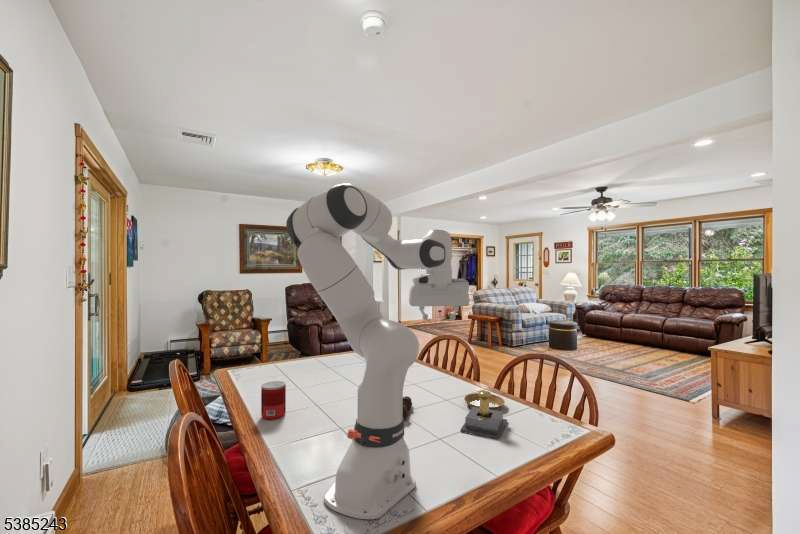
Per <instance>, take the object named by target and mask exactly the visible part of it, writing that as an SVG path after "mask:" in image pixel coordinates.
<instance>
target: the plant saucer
mask: <svg viewBox="0 0 800 534" xmlns="http://www.w3.org/2000/svg"><path fill="white" fill-rule="evenodd" d="M463 399H464V401H465V403H466V405H468V406H469V408H471V409H472V407H478V408H480V406H475V405H472V404H470V402H472V401H475V400H477V401H479V400H480V397H479V396H478V392H476V393H475V392H474V393H473V392H472V393H469V394H467V395H465V396H464V398H463ZM489 403H492V404H494V405H495V404H497V405H499V406H498V407H489V409H491V410H497V411H499V410H500V409H501V408H502V407H503V406H504V405H505V403H506V402H505V400H504V398H502V397H500V395H495V394H493V393H491V397H490V398H489Z"/></svg>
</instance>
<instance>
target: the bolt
mask: <svg viewBox="0 0 800 534" xmlns="http://www.w3.org/2000/svg"><path fill="white" fill-rule="evenodd" d="M412 406H413V402H412V398H411V397H409V396H407V395H406V396H403V408H402V417H403V418H404V422H406V420H407V419H408V416H409V415H410V411H409V410H410V409H411V407H412Z"/></svg>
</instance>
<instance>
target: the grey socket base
mask: <svg viewBox="0 0 800 534" xmlns="http://www.w3.org/2000/svg"><path fill="white" fill-rule="evenodd" d="M464 419H465V420H464V421H465V422H464V424H463V425H462V426H461V428H460V432H461V431H462V432H461V433H464V432H466V433H465V434H469V433H471V434H470V435H474V434H476V435H475V436H479V437H485V438H489V439H490V438H491V439H496V440H498V441H499V440H501V437H502V435H503V432H504V430H505V428H506V425H507V423H508V420H507V419H506V418H504V411H501V410H491V409H489V418H486V417H481V416H480V408H478V407H472V408H471V409H470V410H469V412H467V414H466V416H465V418H464Z"/></svg>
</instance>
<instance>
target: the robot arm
mask: <svg viewBox="0 0 800 534" xmlns="http://www.w3.org/2000/svg"><path fill="white" fill-rule="evenodd" d="M285 224H286V231H287V233H288V236H289V238H290V240H291V242H292V243H293V244H294V246H295V247H296V248H297V249H298V250H297V258H298V261H299V263H300V266H301V267H302V269H303V272H304V273H305V275H306V277H307V278H308V281H309V282H310V283H311V285H312V286H313V289H314V290H315V291H316V293H317V294H318V295H319V297H320V298H321V300H322V301H323V302H324V304H325V305H326V307H327V308H328V309H329V311H330V312H331V313H332V315H333V316H334V318H335V320H336V321H337V323H338V325H339V327H340V329H341V332H342V333H343V335H344V336H345V338H346V340H347V342H348V344H349V346H350V347H351V349H352V350H353V351H354V352H355V354H357V356H359V357H361V358H363V359H364V360H365V370H364V375H363V379H362V382H361V383H360V384H359V385H358V387H357V418H356V420H355V424H354V428H353V429H352V428H350V429H348V430H347V433H346V434H347V435H346V436H347V439H352V441H351V443H350V445H349V447H348V449H347V451H346V452H345V455H344V456H343V458H342V460H341V461H340V464H339V466H338V467H337V470H336V474H335V481H334V482H333V483H332V485H331V487H330V488H329V489H328V491H327V492H326V493H325V495H324V497H323V502H324V504H325V505H326V507H328V508H329V509H331V510H333V511H334V512H337V513H339V514H342V515H345V516H347V517H351V518H353V519H358V520H359V519H360V520H375V519H376V520H378V519H379V518H381V517H382V516H383V515H384V514H386V513H387V512H388V511H389V510H391V509H392V507H393V506H396V504H397V503H398V502H399V501H401V500H402V499H404V497H405V496H406V495H408V493H410V492H411V491H412V490H414V489H415V488H416V486H417V484H416V479H415V478H414V477H413V476H412V473H411V472H412V471H411V456H410V448H409V447H408V445H407V442H406V440H405V438H404V437H405V429H406V425H405V421H404V418H403V417H402V408H403V397H404V396H403V395H404V393H403V392H404V385H405V380H406V376H407V373H408V370H409V368H410V367H411V366H412V365H413V364H414V363H415V361H416V360H417V358H418V356H419V351H420V343H419V340H418V339H419V338H418V337H417V336H416V334H415V333H414V332H413V331H412V330H411V329H410V328H409V327H407V326H406V325H405V324H403V323H401V322H399V321H398V322H397V321H395V320H390V319H388V318H386V316H384V315H383V313H382V312H381V310H380V309H379V306H378V304H377V301H376V299H375V291H374V288H373V286H371V284H370V283H369V281H368V279H367V278H366V276H365V275H364V274H363V272H362V270H361V269H360V267H359V266H358V264H357V263H356V261H355V260H354V258H353V257H352V256H351V254H350V253H349V252H348V250H347V249H346V248H345V246H343V244H342V241H341V237H342V236H344V235H345V234H347V233H348V232H350V231H352V232H354V233H356V234H357V235H359V236H360V237H361V239H363V241H365V242H366V243H367V244H368V245H370V247H372V248H374V250H375V251H377V252H379V253H380V254H382V256H384V257H385V258H386V259H387V261H388V263H389V264H390V265H391V266H392V267H393V268H394V269H395V270H397V271H401V270H402V271H403V270H417V269H418V270H419V269H420V270H424V269H425V273H423V274H420V275H418V276H417V275H416V276H415V277H412V283H413V285H411V287H410V289H409V294H408V304H409V305H410V306H411V307H419V310H420V313H421V315H422V320H423V321H428V318H429V314H427V313H425V311H424V310H425V307H452V309H453V311H452V313H450V314H449V319H450V320H454V321H455V320H456V315H457V313H458V311H459V309H460V307H468V305H469V304H470V296H469V290H470V283H469V281H468V280H466V279H465V278H453V266H452V259H453V243H452V237H451V234H450V233H449V232H448V231H446V230H442V229H441V230H440V229H431V230H428V232H427V234H426V235H425V236H423V237H420V238H417V239H395V238H393V237H392V236H391V235H390V234H389V233H390V230H391V229H392V228H391V227H392V225H393V215H392V211H391V210H390V208H389V207H388V206H387V205H386V204H385V203H384V202H382V201H381V200H379V199H378V198H377V197H375V196H374V195H373V194H371V193H370V192H368V191H366V190H365V189H362V188H360V187H359V186H356V185H354V184H351V183H340V184H336V185H334V186H332V187H330V188H329V189H328V190H326V191H323V192H321V193H319V194H318V195H316V196H312V197H311V198H309V199H308V200H306V201H305V202H304V203H302V205H300V206H299V207H297V208H295V209H294V210H293V211H291V213H290V214H289V216H288V218H287V219H286V223H285Z"/></svg>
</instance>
